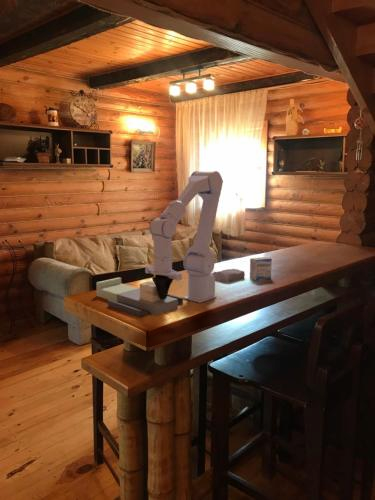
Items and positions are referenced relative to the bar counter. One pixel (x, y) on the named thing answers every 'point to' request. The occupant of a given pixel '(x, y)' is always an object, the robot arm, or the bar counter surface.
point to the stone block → (229, 275)
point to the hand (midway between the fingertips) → (163, 298)
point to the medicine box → (260, 268)
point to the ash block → (149, 292)
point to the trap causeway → (133, 299)
